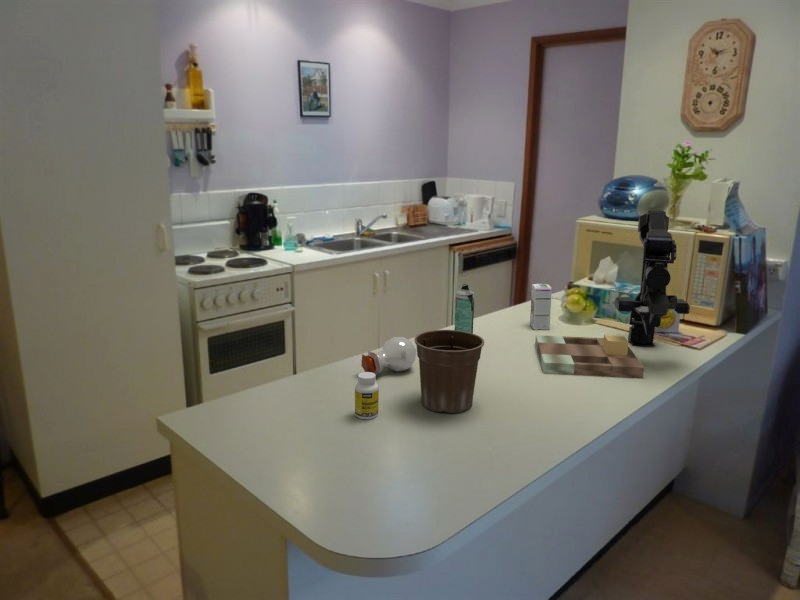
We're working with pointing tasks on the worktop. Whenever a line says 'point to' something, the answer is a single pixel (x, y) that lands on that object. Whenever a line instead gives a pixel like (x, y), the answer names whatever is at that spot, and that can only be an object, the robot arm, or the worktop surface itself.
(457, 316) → the spray can
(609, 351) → the ochre block
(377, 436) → the worktop surface
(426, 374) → the plant pot
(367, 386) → the supplement bottle
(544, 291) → the syrup box
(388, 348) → the potion bottle
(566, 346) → the trap board
